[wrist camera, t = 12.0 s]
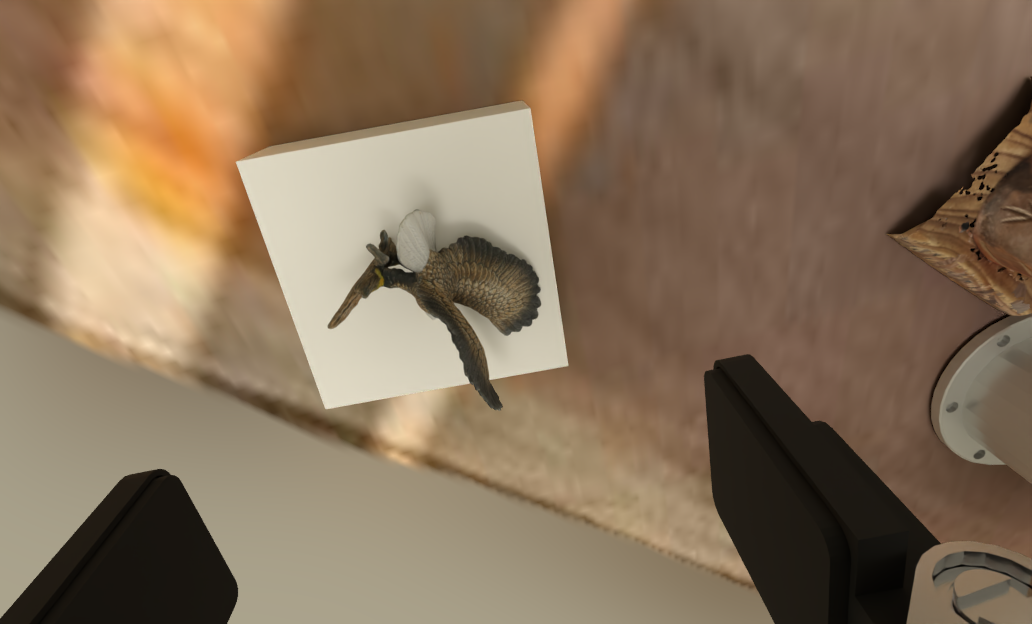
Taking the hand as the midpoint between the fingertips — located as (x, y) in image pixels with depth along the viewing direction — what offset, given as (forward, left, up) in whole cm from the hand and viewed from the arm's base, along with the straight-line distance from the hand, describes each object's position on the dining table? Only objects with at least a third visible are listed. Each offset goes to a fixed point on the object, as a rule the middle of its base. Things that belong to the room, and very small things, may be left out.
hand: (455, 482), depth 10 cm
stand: (+3, +3, -25) cm, 26 cm away
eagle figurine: (+2, +4, -20) cm, 21 cm away
